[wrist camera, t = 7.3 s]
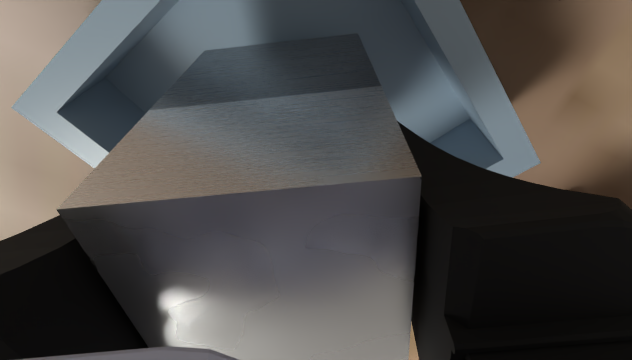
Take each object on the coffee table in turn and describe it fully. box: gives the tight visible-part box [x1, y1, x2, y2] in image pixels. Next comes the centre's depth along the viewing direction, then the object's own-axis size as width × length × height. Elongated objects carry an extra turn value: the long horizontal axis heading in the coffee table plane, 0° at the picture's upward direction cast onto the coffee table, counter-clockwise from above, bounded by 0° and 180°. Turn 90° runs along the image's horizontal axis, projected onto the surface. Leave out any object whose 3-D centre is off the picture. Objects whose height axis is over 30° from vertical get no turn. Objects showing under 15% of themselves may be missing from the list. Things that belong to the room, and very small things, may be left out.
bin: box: [11, 0, 540, 177], centre depth 14 cm, size 13×13×4 cm
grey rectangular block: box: [57, 33, 422, 360], centre depth 10 cm, size 5×5×8 cm
